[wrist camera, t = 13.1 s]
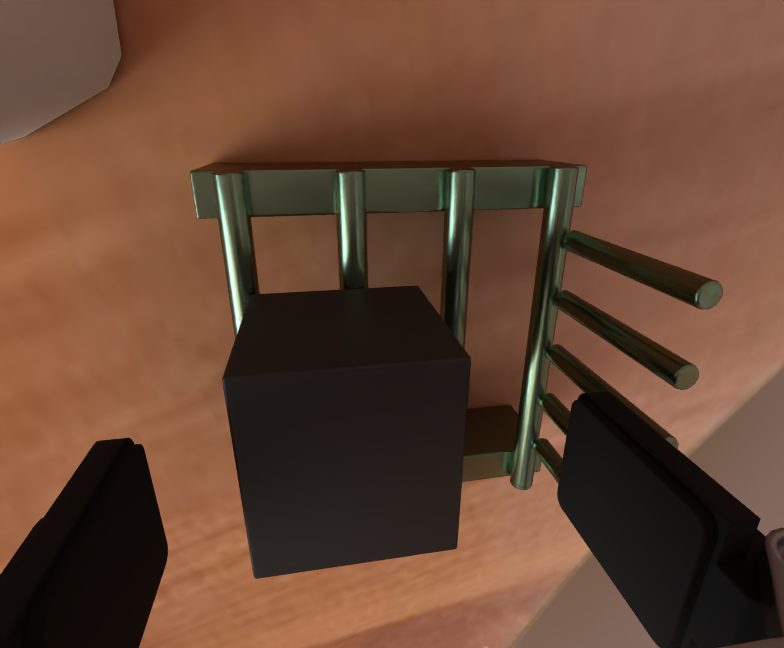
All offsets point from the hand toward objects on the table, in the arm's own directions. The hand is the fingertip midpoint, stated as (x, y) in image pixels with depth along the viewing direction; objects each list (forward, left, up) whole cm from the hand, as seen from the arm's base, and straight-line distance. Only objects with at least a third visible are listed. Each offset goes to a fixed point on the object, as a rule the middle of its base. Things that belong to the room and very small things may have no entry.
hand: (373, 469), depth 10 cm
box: (0, 0, -4) cm, 4 cm away
